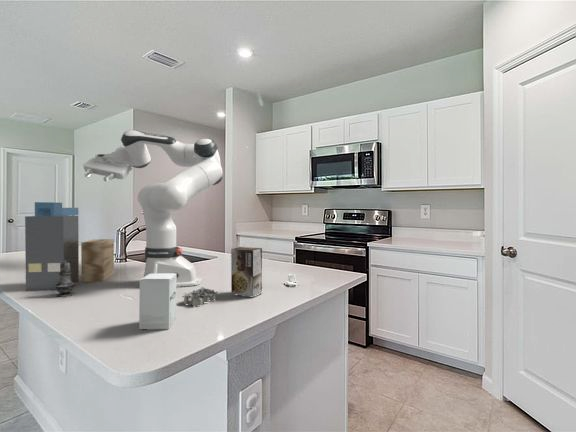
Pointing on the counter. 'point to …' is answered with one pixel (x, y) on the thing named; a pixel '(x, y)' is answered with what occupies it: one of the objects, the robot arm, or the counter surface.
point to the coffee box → (246, 271)
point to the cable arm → (53, 210)
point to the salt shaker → (65, 281)
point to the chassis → (50, 250)
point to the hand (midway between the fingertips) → (95, 178)
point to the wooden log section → (97, 260)
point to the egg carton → (199, 296)
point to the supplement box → (157, 301)
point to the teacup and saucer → (291, 279)
